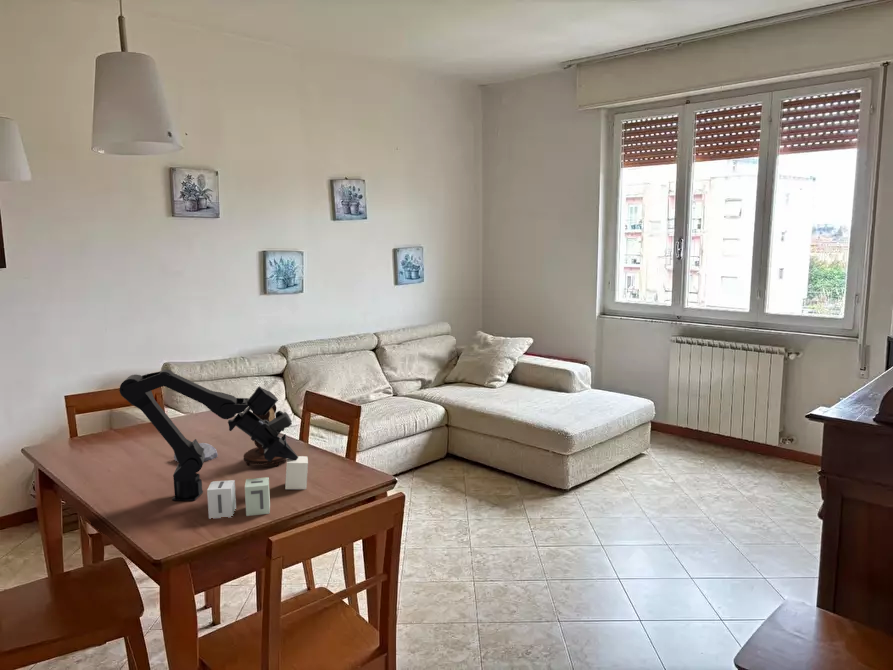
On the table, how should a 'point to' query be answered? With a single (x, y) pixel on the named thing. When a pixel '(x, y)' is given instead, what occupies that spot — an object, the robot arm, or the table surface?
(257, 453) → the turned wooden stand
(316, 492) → the table surface
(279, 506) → the table surface
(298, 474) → the plain cream block
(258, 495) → the sage marked block
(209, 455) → the stone block
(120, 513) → the table surface
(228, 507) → the grey marked block
